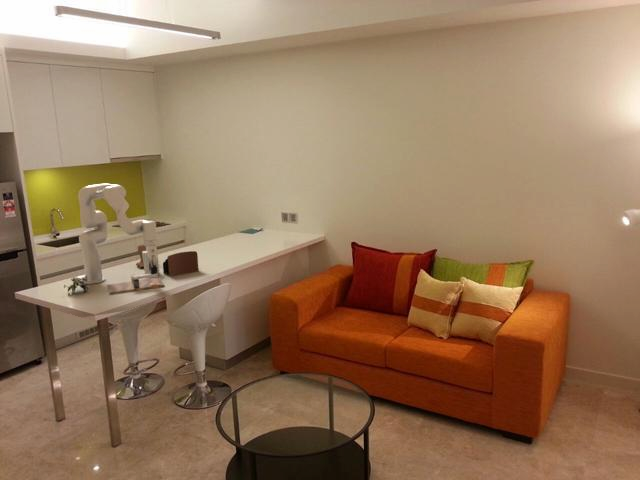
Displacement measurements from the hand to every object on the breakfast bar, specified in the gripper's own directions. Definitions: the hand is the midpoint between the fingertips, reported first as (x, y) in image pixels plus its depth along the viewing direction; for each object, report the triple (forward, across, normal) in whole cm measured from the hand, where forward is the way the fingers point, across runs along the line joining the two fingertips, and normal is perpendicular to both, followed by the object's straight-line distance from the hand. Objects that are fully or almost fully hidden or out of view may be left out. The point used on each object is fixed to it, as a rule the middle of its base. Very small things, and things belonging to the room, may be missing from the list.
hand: (153, 271), depth 315 cm
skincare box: (+9, +32, -3) cm, 33 cm away
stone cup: (+9, +56, -3) cm, 57 cm away
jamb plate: (+9, +6, +10) cm, 15 cm away
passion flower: (+9, +10, +41) cm, 43 cm away
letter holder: (+9, +25, -20) cm, 33 cm away
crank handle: (+3, 0, +5) cm, 6 cm away
